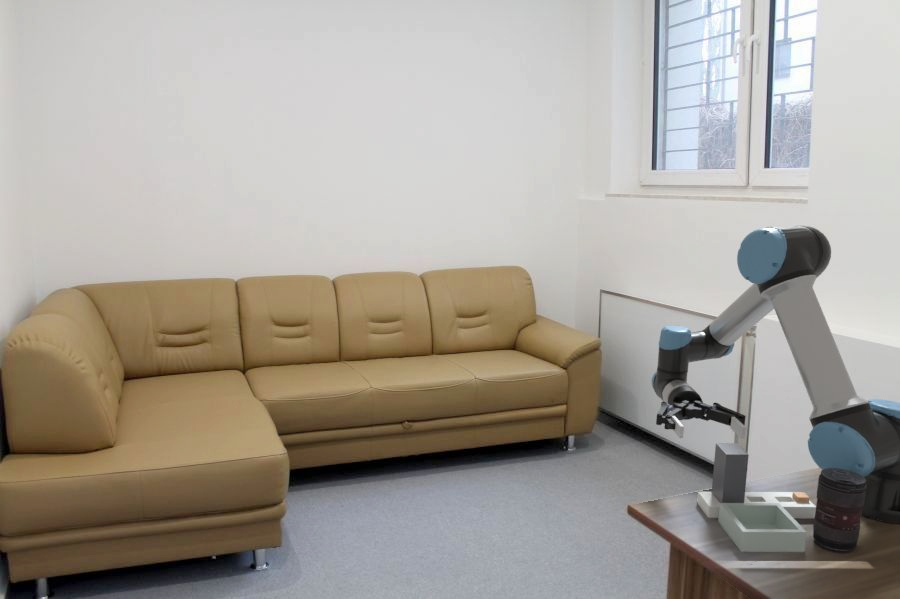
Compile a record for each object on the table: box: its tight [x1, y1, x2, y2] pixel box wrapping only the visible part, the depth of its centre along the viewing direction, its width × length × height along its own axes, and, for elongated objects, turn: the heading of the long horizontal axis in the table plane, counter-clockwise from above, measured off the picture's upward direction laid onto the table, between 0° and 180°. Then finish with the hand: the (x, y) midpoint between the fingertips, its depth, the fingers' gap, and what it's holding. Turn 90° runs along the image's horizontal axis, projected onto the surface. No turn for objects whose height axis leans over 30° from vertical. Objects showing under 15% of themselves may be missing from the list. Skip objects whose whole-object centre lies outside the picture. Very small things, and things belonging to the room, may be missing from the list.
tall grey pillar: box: [711, 442, 750, 503], centre depth 162 cm, size 4×6×13 cm
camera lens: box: [812, 468, 867, 554], centre depth 149 cm, size 8×8×15 cm
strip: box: [696, 491, 816, 520], centre depth 164 cm, size 22×7×4 cm, turn 91°
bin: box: [717, 503, 808, 553], centre depth 153 cm, size 12×12×5 cm
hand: (712, 432), depth 171 cm, fingers open, 13 cm apart
